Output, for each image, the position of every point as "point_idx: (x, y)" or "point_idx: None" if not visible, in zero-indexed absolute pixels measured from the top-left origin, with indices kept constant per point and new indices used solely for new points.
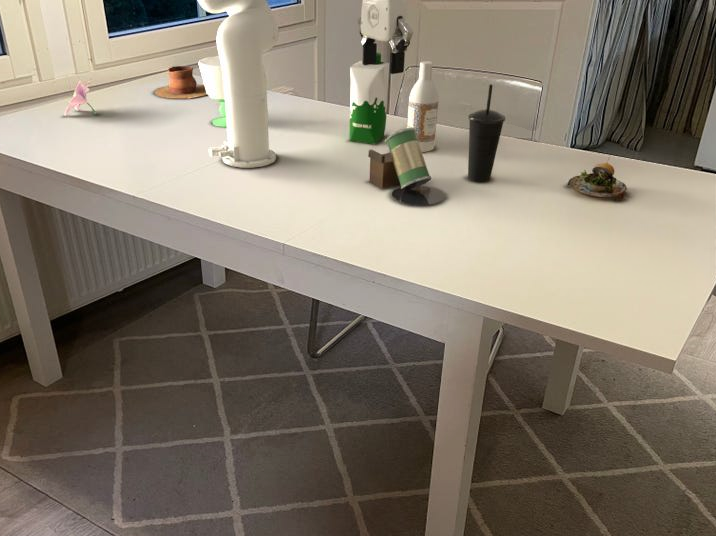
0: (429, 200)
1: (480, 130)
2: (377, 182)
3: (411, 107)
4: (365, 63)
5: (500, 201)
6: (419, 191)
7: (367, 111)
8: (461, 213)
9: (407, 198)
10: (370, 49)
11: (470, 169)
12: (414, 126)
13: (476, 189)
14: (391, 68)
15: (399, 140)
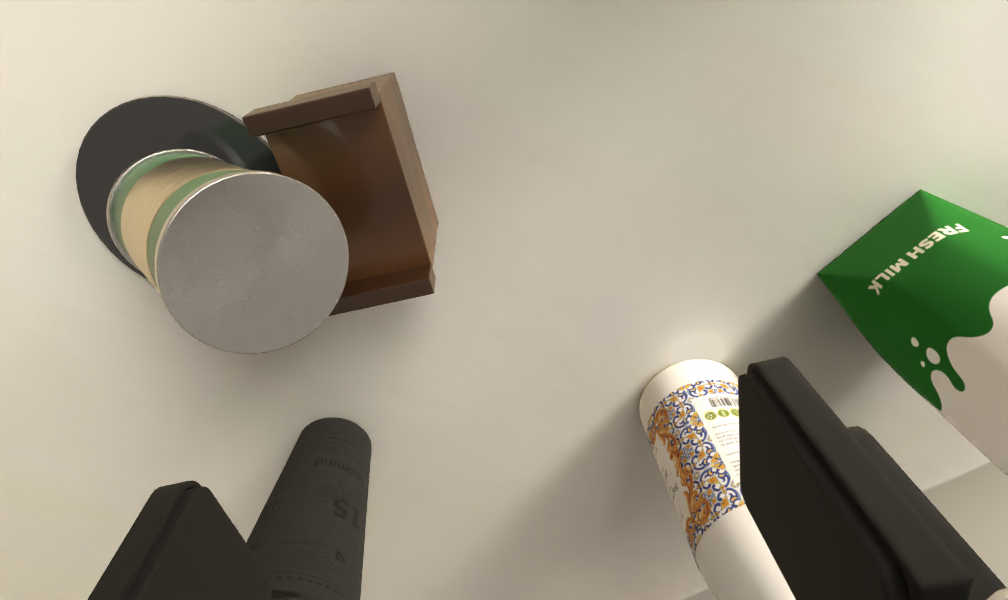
0: None
1: None
2: (328, 90)
3: None
4: (743, 386)
5: (127, 425)
6: None
7: (935, 309)
8: (9, 281)
9: (152, 151)
10: (837, 591)
11: (317, 442)
12: (698, 428)
13: (243, 405)
14: (128, 534)
15: (157, 225)
